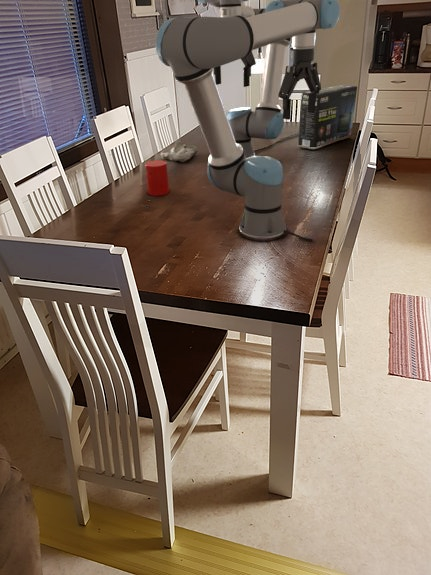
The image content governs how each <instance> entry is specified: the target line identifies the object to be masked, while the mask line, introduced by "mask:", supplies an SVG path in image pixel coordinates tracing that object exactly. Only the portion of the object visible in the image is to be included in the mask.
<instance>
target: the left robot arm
mask: <svg viewBox="0 0 431 575" xmlns="http://www.w3.org/2000/svg"><path fill="white" fill-rule="evenodd" d="M248 1H249V0H197V2H198V3H199V4H210V5H211V6H212V7H214V8H215V9H216V10H217V11H219V17H233V16H237V15H242V16H244V17H245V18H247V17H251V16H255V15H258V14H262V13H265V11H266V8H267V7H265V8H252V7H251V6H249V5H245V3H243V2H248ZM291 40H292V37H291V38H288V39H285V40H282V41H279V42H276V43H273V44H270V45H267V46H265V47H266V48H265V56H264V63H263V72H262V78H261V79H262V80H261V88H260V95H259V96H260V97H259V103H258V104H257V105H255V109H254V110H253V111H252V108H251V107H250V106H243V107H237V108H231V109H230V110H228V111H227V112H226V115H227V118H228V121H229V124H230V127H231V130H232V133H233V136H234V139H235V142H236V144H239V145H241V146H242V147H243V150H244V153H245V156H246V158H249V157H252V156H256V152H260V151H263V150H265V149H267V148H266V146H263V147H264V148H263V147H260V148H261V149H260V148H257V149H258V150H256V149H254V147H253V143H252V139H262V140H277V139H278V137H280V135H281V133H282V132H283V128H284V124H285V119H283V112H281V111H282V109H281V107H280V105H279V101H280V97H278V94H279V91H280V88H281V85H282V81H283V71H284V65H285V57H286V50H287V47H288V46H290V44H291ZM240 60H241V62H242V63H243V65H244V67H242V68H243V88H247V87H250V85H251V84H250V77H251V76H252V67H253V66H255V65H256V64H257V61H256V59H255V57H254V54H253V51H252V52H251V53H250V54H249V55H248V56H247V57H244V58H241V59H240ZM213 76H214V80H215V83H216V86H219V85H221V84H222V65H221V66H218V67H215V68H213ZM254 150H255V151H254Z"/></svg>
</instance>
